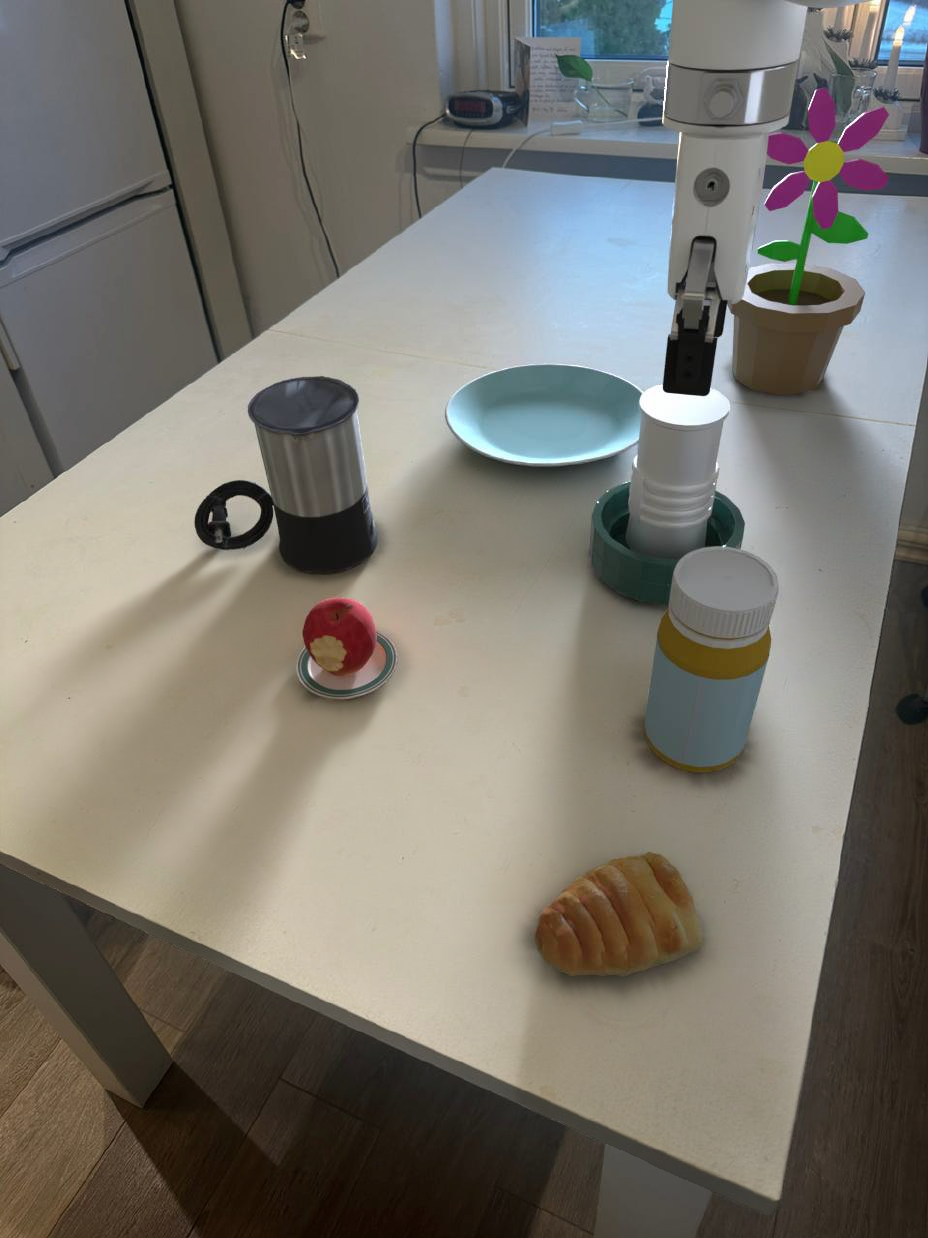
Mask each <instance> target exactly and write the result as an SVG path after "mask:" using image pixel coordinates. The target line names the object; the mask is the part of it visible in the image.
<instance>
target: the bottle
mask: <svg viewBox="0 0 928 1238" xmlns="http://www.w3.org/2000/svg"><path fill="white" fill-rule="evenodd" d="M779 586H780V584H779V578H778V575H777V573H776V571H775V570H774V568H773V567H772V566H771V565H770V564H769V562H767V561H766V560H764V559H763V558H761V557H759V556H758V555H756V554H754V553H752V552H749V551H746V550H744V549H742V548H741V549H737V548H731V547H721V546H715V547H705V548H701V549H697V550H694V551H692V552H690V553H688V554H686V555H685V556H683V557H682V558H681V559H680V560H679V562H678V563H677V565H676V568H675V569H674V572H673V578H672V585H671V591H670V600H669V605H668V607H667V608H666V610H665V611H664V612H663V615H662V616H661V617H660V621H659V624H658V629H657V633H656V638H655V639H656V640H655V645H654V646H655V647H654V653H653V659H652V665H651V666H652V667H651V674H650V681H649V687H648V692H647V693H648V694H647V702H646V708H645V714H644V723H643V731H644V737H645V741H646V742H647V744H648V746H649V748H650V750H651V751H652V752H653V753H654V754H656V756H657V757H659V758H660V759H661V760H662V761H663V762H665V763H667V764H669V765H671V766H672V767H674V768H677V769H678V770H681V771H685V772H691V773H713V772H716V771H719V770H723V769H727V767H730V766H731V765H732V764H733V763H735V762H736V761H737V760H739V758H740V756H741V754H742V753H743V750H744V749H745V745H746V742H747V740H748V739H747V738H748V735H749V732H750V728H751V725H752V721H753V717H754V713H755V709H756V707H757V706H756V705H757V702H758V699H759V695H760V691H761V688H762V683H763V681H764V680H763V679H764V676H765V672H766V669H767V665H768V661H769V657H770V654H771V653H770V652H771V647H772V641H773V640H772V639H773V638H772V634H771V629H770V624H771V620H772V616H773V614H774V610H775V606H776V603H777V600H778V594H779V590H780V587H779Z"/></svg>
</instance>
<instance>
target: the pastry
mask: <svg viewBox="0 0 928 1238" xmlns="http://www.w3.org/2000/svg"><path fill="white" fill-rule="evenodd" d="M536 927H537V928H536V931H535V932H534V944H535V947H536V949H537V952H538V953H539V955H540V956H541V958H542V959H543V960H544V961H545V962H546V963H547V964H549V965H550V966H551V967H552V968H554V969H556V970H557V971H559V972H560V973H563V974H567V975H568V976H570V977H575V976H591V975H594V976H595V975H596V976H602V977H604V976H605V977H606V976H616V977H628V976H630V975H632V974H635V973H640V972H643V971H647V970H648V969H654V968H656V967H657V966H661V965H664V964H666V963H671V962H673V961H677V960H680V959H681V958H682V957H684V956H685V955H688V954H691V953H694V952H695V953H696V952H697V951H699V950H700V949H701V947H702V946H703V944H704V932H703V926H702V921H701V919H700V916H699V914H698V913H697V910H696V904H695V900H694V897H693V895H692V893H691V891H690V889H689V888H688V885H687V883H686V881H685V880H684V877H683V876H682V874H681V872H680V870H679V868H677V867H676V866H675V865H673V864H672V863H671V861H670V860H669V859H668V858H667V857H665V856H664V855H662V854H661V853H658V852H653V851H648V852H647V853H645V854H642V855H635V856H626V857H619V858H614V859H611V860H610V861H608V862H606V863H604V864H602V865H600V866H599V867H595V868H593V869H590V870H589V871H587V872H586V873H585V874H583V875H582V876H579V877H577V878H575V880H574V881H573V882H572V883H571V884H569V885H568V886H567V887H565V888H564V889H563V891H562V892H561V894H560V895H558V896H557V898H556V899H555V900H553V901H552V902H551V903H550V904H548V905H547V906H545V907H544V908H543V909H542V911H541V913H540V916H539V919H538V922H537V926H536Z"/></svg>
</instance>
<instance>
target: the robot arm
mask: <svg viewBox="0 0 928 1238" xmlns="http://www.w3.org/2000/svg"><path fill="white" fill-rule="evenodd" d="M871 1H873V0H672V9H671V21H670V31H669V33H670V34H669V44H668V45H669V46H668V54H667V55H668V57H667V65H666V78H665V87H664V88H665V89H664V101H663V109H662V111H663V112H662V121H661V124H662V126H664V127H665V128H666V129H668V130H671V131H673V132H676V133H679V141H678V142H679V143H678V151H677V161H676V170H675V181H674V188H673V189H674V191H673V201H672V212H671V223H670V224H671V225H670V226H671V227H670V236H669V237H670V238H669V251H668V269H667V271H668V272H667V294H668V296H669V297H670V298H671V299H672V300H674V301H675V304H674V310H673V316H672V321H671V322H672V323H671V327H670V333H669V334H668V335H667V340H666V349H665V350H666V352H665V357H664V358H665V360H664V369H663V378H662V384H663V387H662V388H663V391H664V392H666V393H672V394H683V395H694V396H707V395H708V394H709V392H710V388H712V380H713V374H714V367H715V360H716V353H717V345H718V339H719V338H721V337H722V336H723V333H724V328H725V320H726V314H727V308H728V305H727V302H728V300H732V304H736V303H738V302H739V301H740V300H741V299H742V298H743V295H744V291H745V286H746V282H747V276H748V271H749V268H750V265H751V260H752V253H753V249H754V248H753V247H754V241H755V237H756V236H755V235H756V229H757V223H758V219H759V218H758V217H759V211H760V204H761V197H762V192H763V186H764V180H765V179H764V178H765V171H766V166H767V165H766V163H767V156H768V155H767V147H768V136H769V134H770V133H771V132H775V131H778V130H781V129H782V128H785V127H786V126H787V125H788V124H789V121H790V116H791V108H792V103H793V97H794V91H795V87H796V80H797V74H798V67H799V62H800V55H801V49H802V43H803V37H804V32H805V26H806V20H807V12H808V9H809V8H814V9H835V8H842V7H846V6H847V7H848V6H853V5H854V6H855V5H857V4H862V3H867V2H871Z"/></svg>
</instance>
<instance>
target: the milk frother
mask: <svg viewBox="0 0 928 1238" xmlns="http://www.w3.org/2000/svg"><path fill="white" fill-rule="evenodd" d="M359 405H360V396H359V393H358V392H357V390H356V388H354V387H353V386H352V385H350V384H349V383H347V382H345V381H343V380H341V379H338V378H334V377H330V376H323V375H318V376H316V375H315V376H298V377H294V378H288V379H284V380H281V381H278V382H275V383H273V384H271V385H268V386H267V387H265V388H263V389H261V390H260V391H258V392H257V393H256V394H255V395H254V396H253V397H252V398H251V399H250V401H249V403H248V404H247V414H248V418H249V419H250V421H252V423H253V424H254V428H255V432H256V439H257V441H258V445H259V446H258V447H259V451H260V455H261V458H262V463H263V467H264V471H265V476H266V480H267V484H268V488H269V492H268V491H267V490H266V489H265V488H264V487H263V486H262V485H260V484H257V483H256V482H253V481H251V480H250V481H249V480H245V479H236V480H230V481H227V482H224V483H222V484H221V485H219V486H217V487H216V488H214V489H213V490H212V491H210V492H209V494H207V495H206V496H205V498H204V499H202V502H201V503H200V504H199V505H198V507H197V509H196V512H195V515H194V523H193V524H194V529H195V532H196V535H197V536H198V538H199V540H200V541H201V542H202V543H203V544H205V545H206V546H208V547H210V548H212V549H217V550H223V551H224V550H226V551H228V550H229V551H230V550H240V549H244V548H247V547H250V546H252V545H254V544H255V543H256V542H258V541H260V540H261V539H262V538H263V537H264V536H266V535H265V534H266V533H267V532H268V531H269V529H270V527H271V525H272V523H273V519H274V516H275V520H276V526H277V531H278V536H279V542H278V551H279V554H280V556H281V558H282V560H283V561H284V562H285V563H286V564H287V565H288V566H290V567H291V568H292V569H294V570H296V571H299V572H303V573H307V574H313V575H314V574H315V575H329V574H336V573H341V572H344V571H347V570H350V569H352V568H355V567H356V566H359V565H360V564H361V563H363V562H365V561H366V560H367V559H369V558H370V557H371V555H373V553H374V551H375V550H376V549H377V546H378V542H379V533H378V530H377V528H376V525H375V520H374V515H373V512H372V508H371V501H370V491H369V486H368V480H367V471H366V463H365V456H364V451H363V444H362V435H361V430H360V422H359V415H358V408H359ZM238 496H241V497H247V498H249V499H252V500H254V501H255V502H256V503H257V504H258V506H259V508H260V515H259V519H258V520H257V522H256V523H255V524H254V525H253V526H252V527H251V528H250V529H249V530H247V531H245V532H244V533H241V534H238V535H235V536H232V529H231V524H230V522H229V521H227V518H228V517H229V513H228V509H227V501H228V500H230V499H233V498H235V497H238ZM211 513H212V514H211ZM210 514H211V515H212V516H211V515H210ZM210 516H211V521H210Z"/></svg>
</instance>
